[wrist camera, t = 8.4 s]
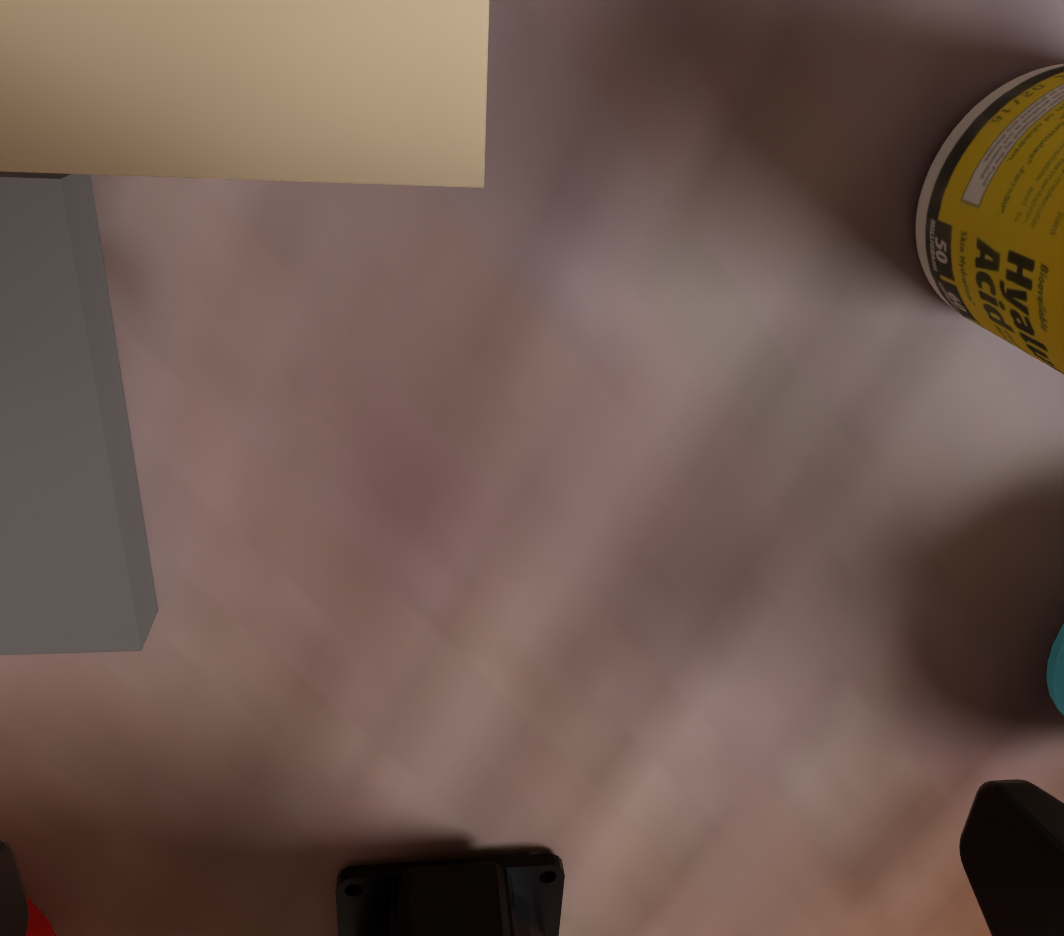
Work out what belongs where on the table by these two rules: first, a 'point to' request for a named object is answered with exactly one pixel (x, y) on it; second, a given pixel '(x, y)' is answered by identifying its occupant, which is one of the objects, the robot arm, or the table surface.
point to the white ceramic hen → (38, 922)
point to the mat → (64, 434)
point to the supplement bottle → (1002, 215)
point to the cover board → (246, 89)
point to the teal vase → (1057, 671)
